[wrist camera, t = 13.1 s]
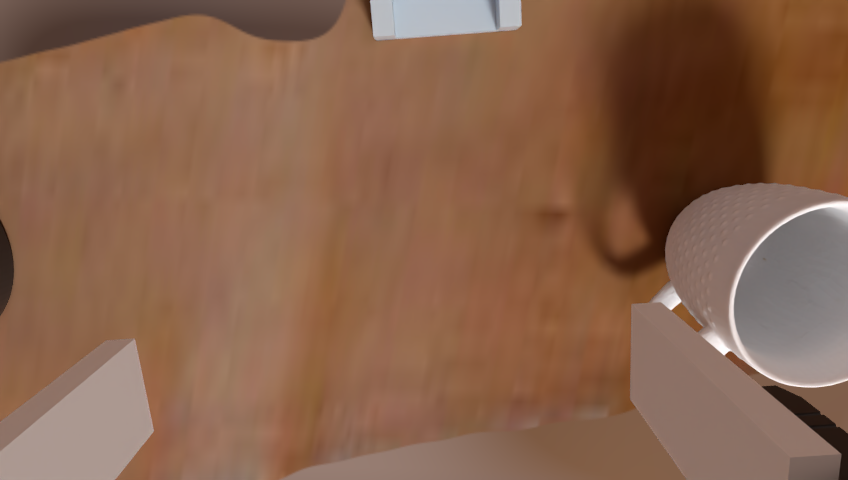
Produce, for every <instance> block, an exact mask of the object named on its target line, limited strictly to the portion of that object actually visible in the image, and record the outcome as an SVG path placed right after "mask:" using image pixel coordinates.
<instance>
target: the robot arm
mask: <svg viewBox="0 0 848 480" xmlns="http://www.w3.org/2000/svg"><path fill="white" fill-rule="evenodd" d="M13 275H14V269H13V258H12V253H11V248H10V245H9V242H8V239H7V236H6V234H5V231H4V229H3V227H2V225H1V223H0V315H1V314H2V312H3V311H4V309H5V307H6V305H7V303H8V300H9V297H10V294H11V290H12V285H13ZM630 400H631V401H632V402H633V404H634V405H635V407H636V408H637V409H638V411H639V412H640V414H641V415H642V417H643V418H644V420H645V421H646V422H647V424H648V425H649V427H650V428H651V430H652V431H653V432H654V434H655V435H656V437H657V438H658V440H659V441H660V442H661V444H662V445H663V447H664V448H665V450H666V451H667V452H668V454H669V455H670V457H671V458H672V459H673V461H674V462H675V464H676V465H677V467H678V468H679V470H680V471H681V472H682V474H683V475H684V477H685V478H686V479H687V480H848V433H846V432H845V431H844V430H843V429H841V428H840V427H836V424H835V423H834V422H832V421H831V420H830V419H829V418H827V417H826V416H825V415H821V414H820V411H818V410H817V409H816V408H814V407H813V406H812V405H811V404H809V403H808V402H807V401H806V400H804V399H803V398H802V397H800V396H797V395H795V394H793V393H791V392H789V391H786V390H784V389H782V388H780V387H778V386H762V387H761V386H760V385H759V384H757V383H756V382H755V381H754V380H753V379H752V378H750V377H749V376H748V375H747V374H746V373H745V372H743V371H742V370H741V369H740V368H739V367H737V366H736V365H735V364H734V363H733V362H731V361H730V360H729V359H728V358H727V357H726V356H724V355H723V354H722V353H721V352H720V351H718V350H717V349H716V348H715V347H714V346H712V345H711V344H710V343H709V342H708V341H707V340H705V339H704V338H703V337H702V336H701V335H699V334H698V333H697V332H696V331H695V330H693V329H692V328H691V327H690V326H689V325H688V324H686V323H685V322H684V321H683V320H682V319H680V318H679V317H678V316H677V315H676V314H674V313H673V312H672V311H671V310H670V309H669V308H667V307H666V306H665V305H664V304H663V303H661V302H656V303H641V304H632V316H631V379H630ZM153 432H154V430H153V425H152V420H151V415H150V410H149V405H148V400H147V396H146V391H145V386H144V381H143V376H142V371H141V366H140V361H139V357H138V352H137V347H136V342H135V339H121V340H107V341H105V342H104V343H102V344H101V345H100V346H98V347H97V348H96V349H94V350H93V351H92V352H91V353H89V354H88V355H87V356H85V357H84V358H83V359H81V360H80V361H79V362H78V363H76V364H75V365H74V366H72V367H71V368H70V369H68V370H67V371H66V372H65V373H63V374H62V375H61V376H59V377H58V378H57V379H55V380H54V381H53V382H52V383H50V384H49V385H48V386H46V387H45V388H44V389H42V390H41V391H40V392H38V393H37V394H36V395H35V396H33V397H32V398H31V399H29V400H28V401H27V402H25V403H24V404H23V405H22V406H20V407H19V408H18V409H16V410H15V411H14V412H12V413H11V414H10V415H9V416H7V417H6V418H5V419H3V420H2V421H1V422H0V480H115V479H116V478H117V477H118V475H119V474H120V473H121V472H122V470H123V469H124V468H125V467H126V465H127V464H128V463H129V462H130V460H131V459H132V458H133V457H134V455H135V454H136V453H137V452H138V450H139V449H140V448H141V447H142V445H143V444H144V443H145V442H146V440H147V439H148V438H149V437H150V435H151V434H152V433H153Z"/></svg>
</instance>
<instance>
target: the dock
mask: <svg viewBox="0 0 848 480" xmlns="http://www.w3.org/2000/svg"><path fill="white" fill-rule="evenodd" d="M370 4H371V15H372V27H373V37H374V38H375V40H376V41H378V40H391V39H404V38H417V37H431V36H444V35H457V34H470V33H483V32H497V31H510V30H516V29H518V28H519V27H520V26H522V25H521V0H370Z"/></svg>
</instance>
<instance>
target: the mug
mask: <svg viewBox="0 0 848 480" xmlns="http://www.w3.org/2000/svg"><path fill="white" fill-rule="evenodd" d="M665 254H666V255H665V261H666V264H667V270H668V275H669V278H670V281H669V282H668V283H667V284H666V285H665V286H664V287H663V288H662V289H661V290H660V291H659V292H658V293H657V294H656V295H655V296H654V297H653V298H652V299H651V300H650V302H649V303H656V302H661V303H663V304H664V305H665V306H666V307H667V308H669V309H670V310H672V309H673V308H674V307H675V306H676V305H678V304H679V303H680V302H682V304H683V305H684V306H685V307H686V308H687V309H688V311H689V313H690V314H691V315H692V316H694V317H695V319H696V320H697V322H698V323H700V324H701V325H702V326H703V328H702V329H701V330H700V331H699V332H698V334H699V335H701V336H702V337H703V338H704V339H705V340H707V341H708V342H709V343H710V344H711V345H712V346H714V347H715V348H716V349H717V350H718V351H720V352H721V353H722V354H723V355H725V354H726V353H727V352H728V351H732V352H733V353H735V354H736V355H737V356H738V357H739V358H740V359H742V360H744V361H745V362H746V363H747V364H749V365H750V366H751V367H753V368H754V369H755V370H757V371H758V372H760V373H761V374H763V375H765V376H767V377H768V378H770V379H772V380H775V381H777V382H780V383H783V384H787V385H791V386H799V387H823V386H829V385H834V384H837V383H841V382H844V381H847V380H848V197H844V196H842V195H839V194H832V193H827V192H824V191H822V190H813V189H809V188H806V187H796V186H793V185H790V184H788V185H781V184H776V183H770V184H764V183H757V184H750V183H748V184H745V185H734V186H732V187H725V188H720V189H718V190H714V191H711V192H709V193H708V194H704V195H702V196H701V197H700V198H698V199H696V200H693V201H692V202H691V204H689V205H688V206H687V207H685V208H684V210H683V211H682V212H681V213H680V214H679V215H678V216H677V217H676V219H675V221H674V222H673V224H672V226H671V227H670V231H669V233H668V237H667V241H666V247H665Z"/></svg>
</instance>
